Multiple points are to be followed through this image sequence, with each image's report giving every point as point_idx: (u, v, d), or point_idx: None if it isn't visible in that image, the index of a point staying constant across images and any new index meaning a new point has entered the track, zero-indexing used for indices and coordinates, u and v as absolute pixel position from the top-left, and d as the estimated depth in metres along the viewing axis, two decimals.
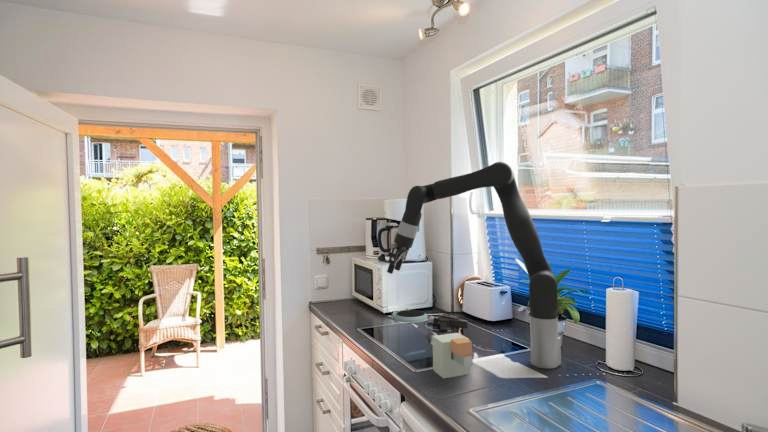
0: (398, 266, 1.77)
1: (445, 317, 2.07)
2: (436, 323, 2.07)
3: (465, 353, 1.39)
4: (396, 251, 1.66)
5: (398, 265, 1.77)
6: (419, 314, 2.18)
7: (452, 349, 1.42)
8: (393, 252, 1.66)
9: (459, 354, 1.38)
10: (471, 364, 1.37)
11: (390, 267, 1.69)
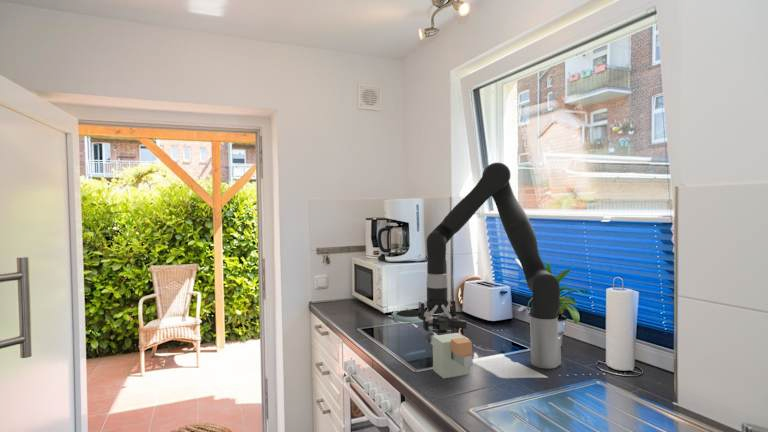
0: (447, 324, 1.59)
1: (444, 317, 2.07)
2: (435, 323, 2.07)
3: (465, 353, 1.39)
4: (420, 305, 1.55)
5: (447, 323, 1.59)
6: None
7: (452, 349, 1.42)
8: (419, 306, 1.56)
9: (459, 354, 1.38)
10: (471, 364, 1.37)
11: (424, 324, 1.56)
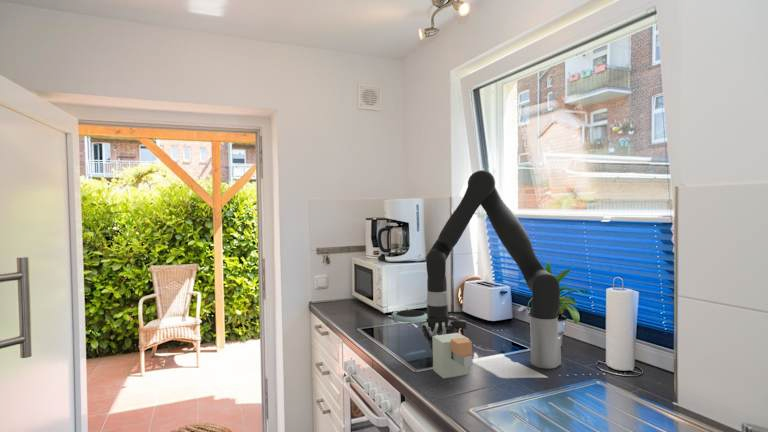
0: None
1: None
2: None
3: (465, 353, 1.39)
4: (422, 327, 1.55)
5: None
6: (419, 314, 2.18)
7: (452, 349, 1.42)
8: (422, 329, 1.56)
9: (459, 354, 1.38)
10: (471, 364, 1.37)
11: (431, 344, 1.57)
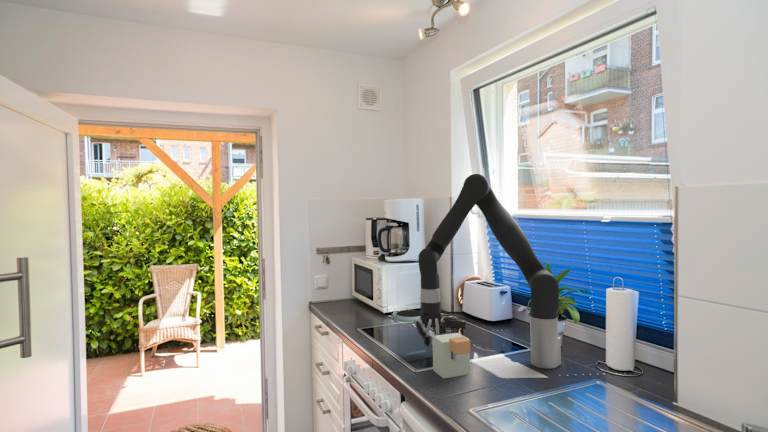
0: None
1: None
2: None
3: (463, 352, 1.40)
4: (416, 324, 1.61)
5: None
6: (419, 314, 2.19)
7: (451, 348, 1.43)
8: (415, 325, 1.62)
9: (457, 353, 1.39)
10: (462, 358, 1.43)
11: (424, 339, 1.62)
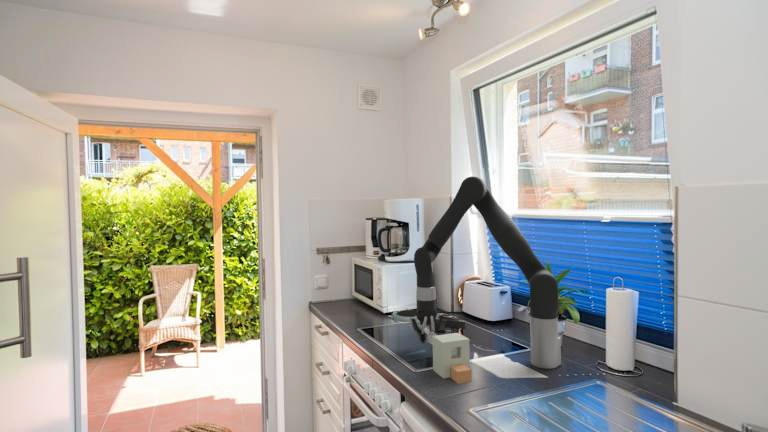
0: None
1: (443, 317, 2.06)
2: (434, 323, 2.06)
3: (465, 381, 1.40)
4: (411, 321, 1.64)
5: None
6: None
7: (452, 376, 1.43)
8: (411, 322, 1.66)
9: (459, 382, 1.39)
10: (456, 354, 1.47)
11: (420, 336, 1.66)
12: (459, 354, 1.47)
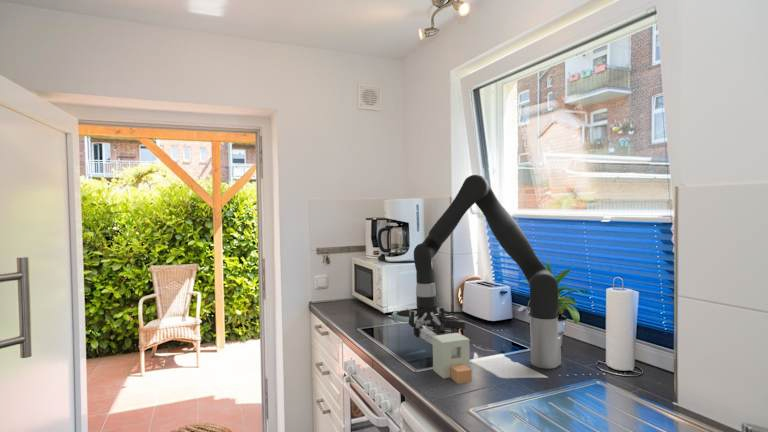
0: (436, 330, 1.68)
1: None
2: (433, 324, 2.06)
3: (465, 381, 1.40)
4: (410, 313, 1.64)
5: (436, 329, 1.68)
6: None
7: (452, 376, 1.43)
8: (409, 314, 1.65)
9: (459, 382, 1.39)
10: (456, 354, 1.47)
11: (414, 331, 1.66)
12: (459, 354, 1.47)
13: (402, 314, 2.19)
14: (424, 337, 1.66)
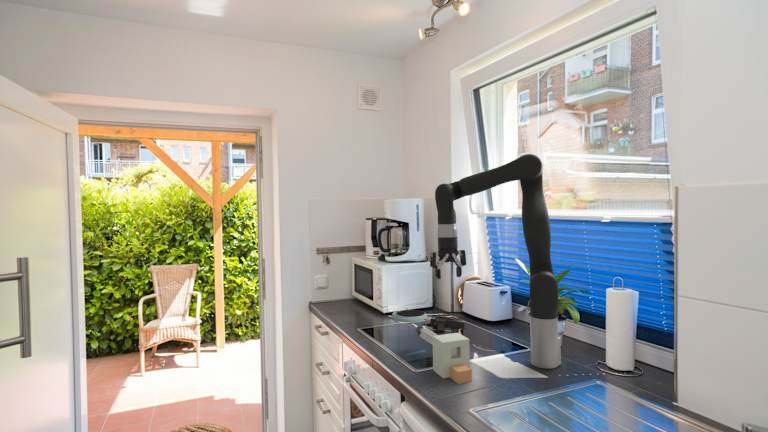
0: (458, 272, 1.67)
1: (442, 318, 2.06)
2: (433, 324, 2.06)
3: (465, 381, 1.40)
4: (432, 254, 1.63)
5: (457, 272, 1.67)
6: (419, 314, 2.19)
7: (452, 376, 1.42)
8: (431, 255, 1.64)
9: (459, 382, 1.39)
10: (456, 354, 1.47)
11: (436, 272, 1.64)
12: (459, 354, 1.47)
13: (402, 314, 2.19)
14: (424, 337, 1.66)
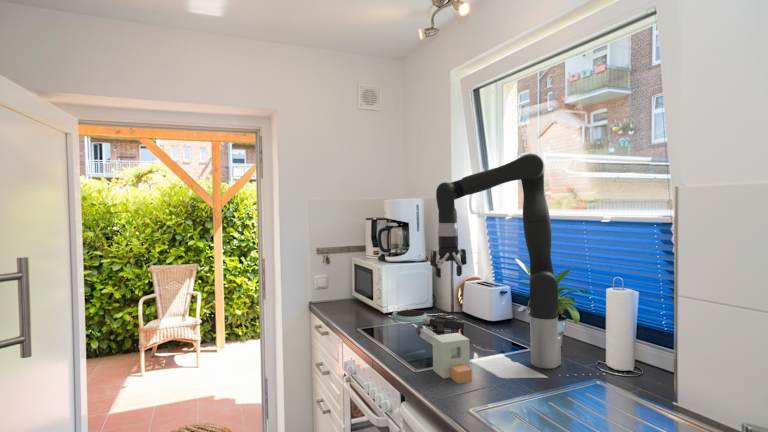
0: (458, 271, 1.67)
1: (441, 318, 2.06)
2: (432, 324, 2.06)
3: (465, 381, 1.40)
4: (432, 252, 1.63)
5: (458, 271, 1.67)
6: (419, 314, 2.19)
7: (452, 376, 1.42)
8: (431, 254, 1.64)
9: (459, 382, 1.39)
10: (456, 354, 1.47)
11: (436, 271, 1.64)
12: (459, 354, 1.47)
13: (402, 314, 2.19)
14: (424, 337, 1.66)
